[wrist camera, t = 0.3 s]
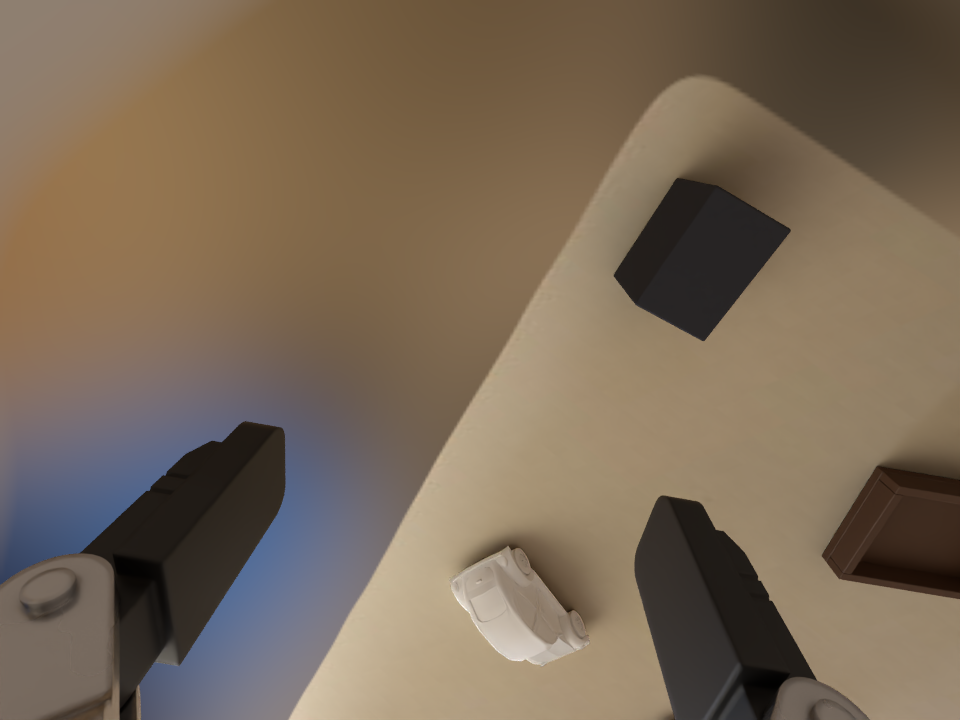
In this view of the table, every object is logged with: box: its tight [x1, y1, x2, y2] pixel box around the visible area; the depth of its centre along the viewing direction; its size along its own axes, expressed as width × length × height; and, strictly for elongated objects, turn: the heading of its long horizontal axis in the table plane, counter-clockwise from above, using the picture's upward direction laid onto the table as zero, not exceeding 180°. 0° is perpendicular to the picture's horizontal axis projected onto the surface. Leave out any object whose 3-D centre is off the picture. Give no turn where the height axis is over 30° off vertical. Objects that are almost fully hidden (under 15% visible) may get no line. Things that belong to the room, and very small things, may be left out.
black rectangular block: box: [614, 178, 791, 341], centre depth 24 cm, size 4×6×6 cm, turn 153°
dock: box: [822, 466, 960, 599], centre depth 32 cm, size 8×10×2 cm
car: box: [449, 546, 590, 667], centre depth 36 cm, size 12×6×5 cm, turn 39°
